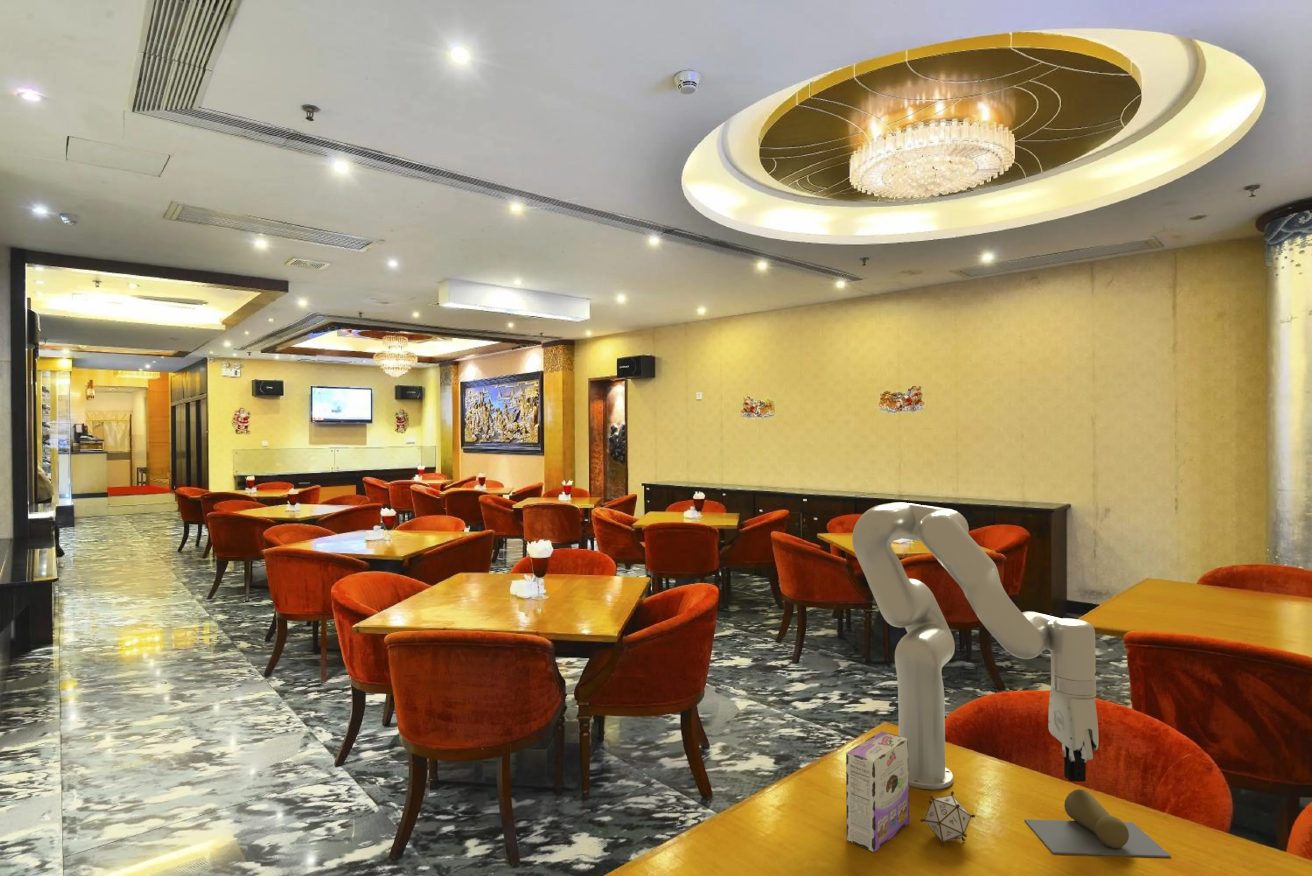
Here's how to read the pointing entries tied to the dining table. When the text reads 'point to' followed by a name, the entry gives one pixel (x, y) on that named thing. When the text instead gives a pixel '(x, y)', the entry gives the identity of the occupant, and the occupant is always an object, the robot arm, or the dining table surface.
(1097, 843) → the felt mat
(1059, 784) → the dining table surface
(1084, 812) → the cork
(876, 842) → the candy box
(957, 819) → the game die
